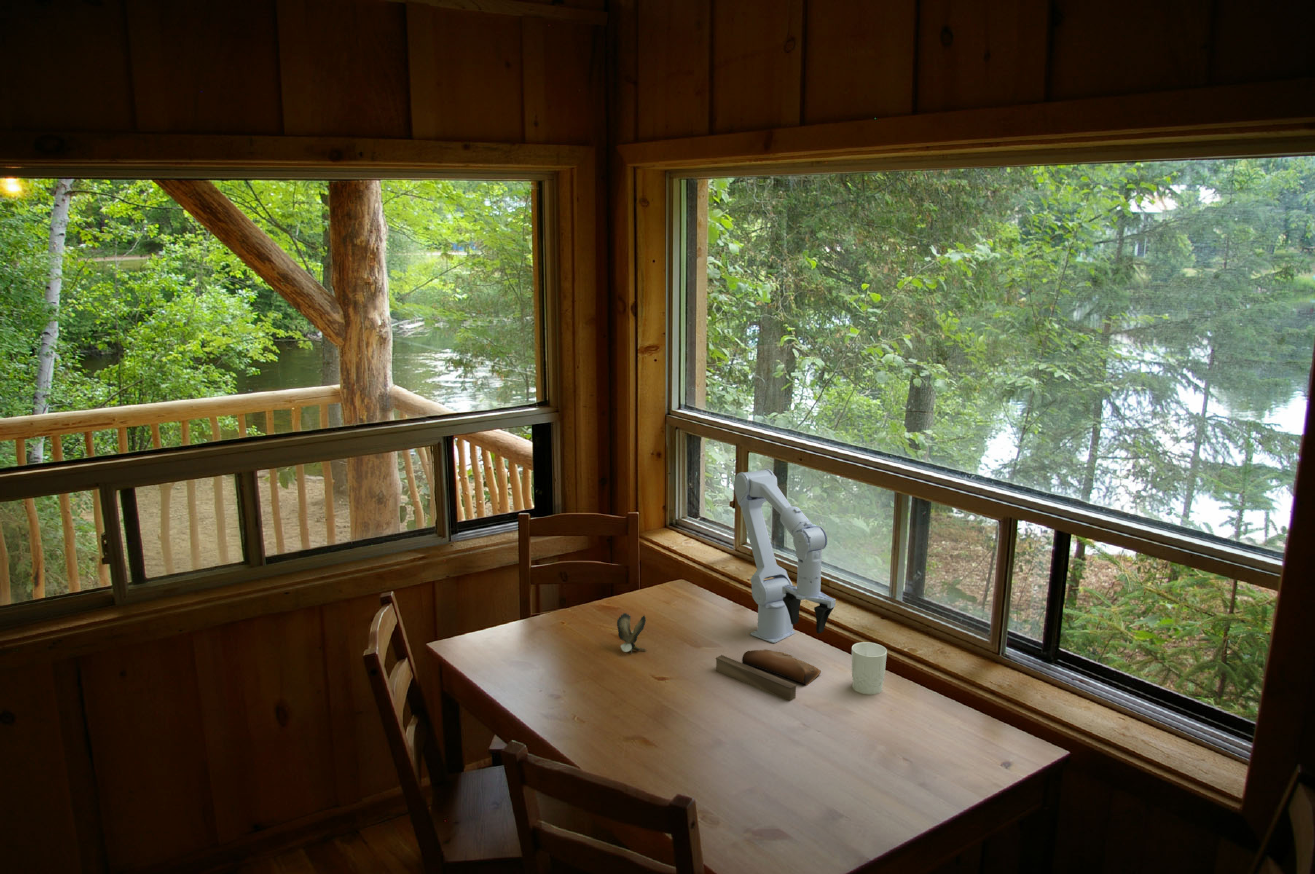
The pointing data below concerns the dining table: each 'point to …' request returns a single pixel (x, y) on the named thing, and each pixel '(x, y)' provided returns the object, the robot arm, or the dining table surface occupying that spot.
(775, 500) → the robot arm
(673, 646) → the dining table surface
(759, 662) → the sunglasses case
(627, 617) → the eagle figurine
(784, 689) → the walnut stop rail
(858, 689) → the white cup
